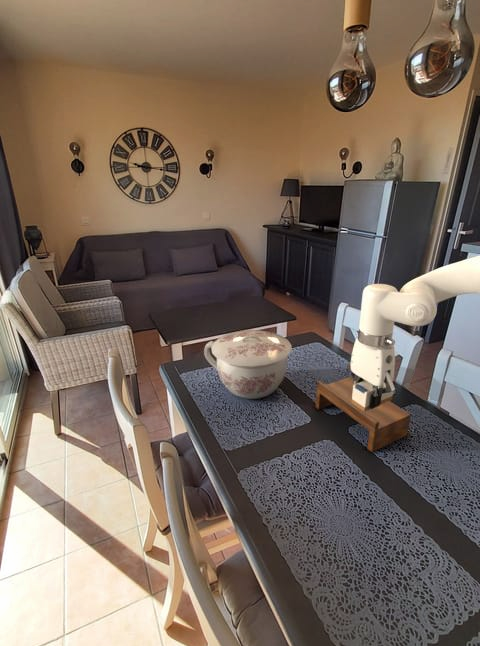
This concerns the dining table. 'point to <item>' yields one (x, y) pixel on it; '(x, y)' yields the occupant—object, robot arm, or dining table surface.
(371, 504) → the dining table surface
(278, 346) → the chamber pot
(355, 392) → the slotted cream box
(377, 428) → the shoe shelf
